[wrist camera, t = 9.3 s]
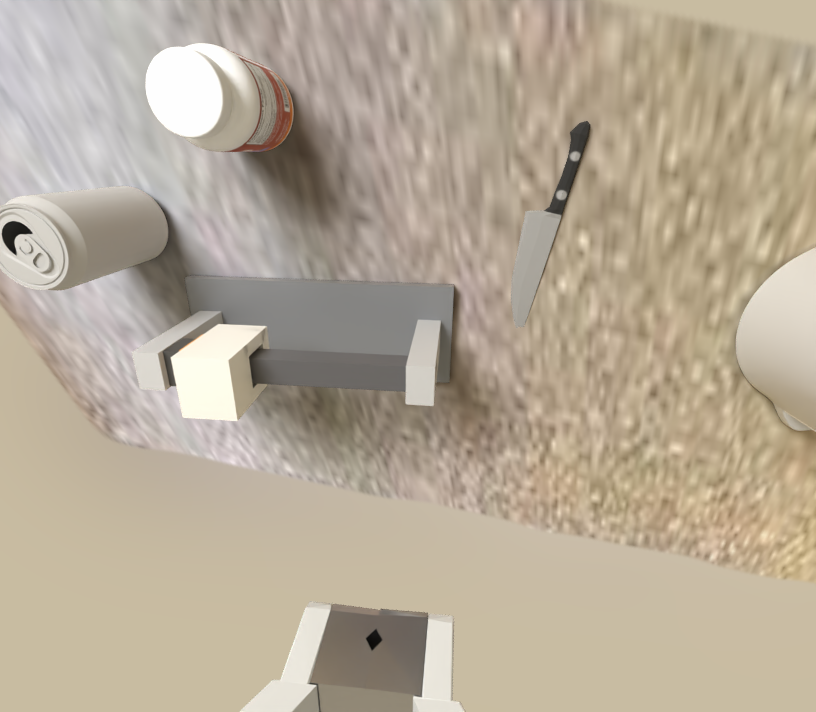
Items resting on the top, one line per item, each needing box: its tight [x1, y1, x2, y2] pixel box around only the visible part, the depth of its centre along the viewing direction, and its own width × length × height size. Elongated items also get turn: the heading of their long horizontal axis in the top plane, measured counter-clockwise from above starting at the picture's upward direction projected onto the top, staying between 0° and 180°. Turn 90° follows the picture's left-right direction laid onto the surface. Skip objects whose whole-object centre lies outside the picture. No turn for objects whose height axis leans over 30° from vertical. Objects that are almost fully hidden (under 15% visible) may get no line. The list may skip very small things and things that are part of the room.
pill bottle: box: [146, 43, 294, 152], centre depth 33 cm, size 6×6×11 cm
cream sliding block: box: [171, 324, 269, 421], centre depth 36 cm, size 4×5×7 cm
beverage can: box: [0, 186, 168, 290], centre depth 37 cm, size 6×6×12 cm
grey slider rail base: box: [131, 275, 454, 406], centre depth 39 cm, size 24×9×11 cm, turn 90°
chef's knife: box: [511, 121, 590, 328], centre depth 39 cm, size 19×1×3 cm
